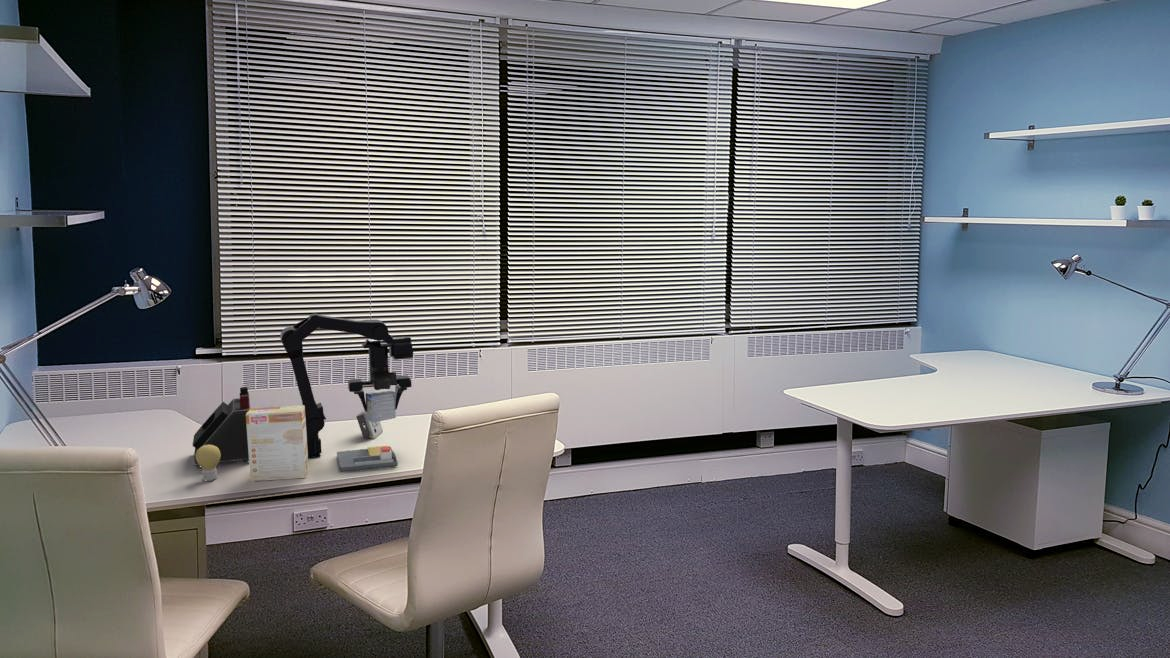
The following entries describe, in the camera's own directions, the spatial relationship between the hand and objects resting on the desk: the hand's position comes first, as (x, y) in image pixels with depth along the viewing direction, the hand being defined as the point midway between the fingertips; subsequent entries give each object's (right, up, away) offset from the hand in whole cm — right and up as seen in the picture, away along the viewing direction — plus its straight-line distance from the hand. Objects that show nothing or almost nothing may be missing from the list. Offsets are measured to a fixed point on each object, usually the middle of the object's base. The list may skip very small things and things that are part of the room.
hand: (380, 410), depth 281 cm
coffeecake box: (-23, -17, -25) cm, 38 cm away
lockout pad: (+1, -12, -8) cm, 15 cm away
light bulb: (-41, -17, -28) cm, 53 cm away
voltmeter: (-45, -14, -8) cm, 48 cm away
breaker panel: (-1, -14, -12) cm, 19 cm away
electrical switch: (-7, -10, +15) cm, 19 cm away
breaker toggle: (+5, -13, -15) cm, 21 cm away
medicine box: (0, -3, 0) cm, 3 cm away
